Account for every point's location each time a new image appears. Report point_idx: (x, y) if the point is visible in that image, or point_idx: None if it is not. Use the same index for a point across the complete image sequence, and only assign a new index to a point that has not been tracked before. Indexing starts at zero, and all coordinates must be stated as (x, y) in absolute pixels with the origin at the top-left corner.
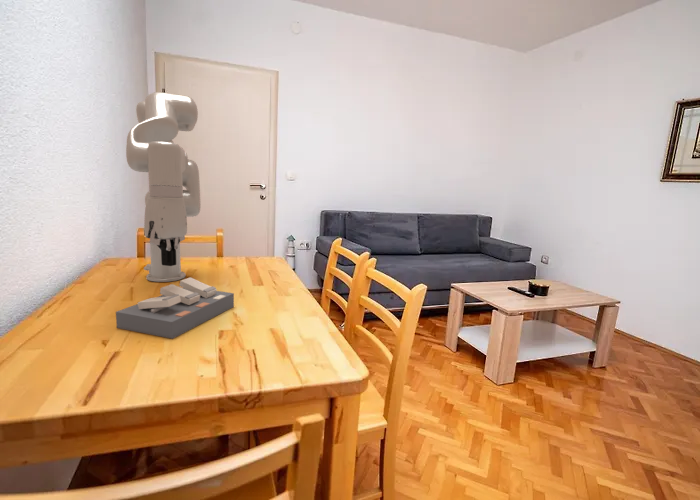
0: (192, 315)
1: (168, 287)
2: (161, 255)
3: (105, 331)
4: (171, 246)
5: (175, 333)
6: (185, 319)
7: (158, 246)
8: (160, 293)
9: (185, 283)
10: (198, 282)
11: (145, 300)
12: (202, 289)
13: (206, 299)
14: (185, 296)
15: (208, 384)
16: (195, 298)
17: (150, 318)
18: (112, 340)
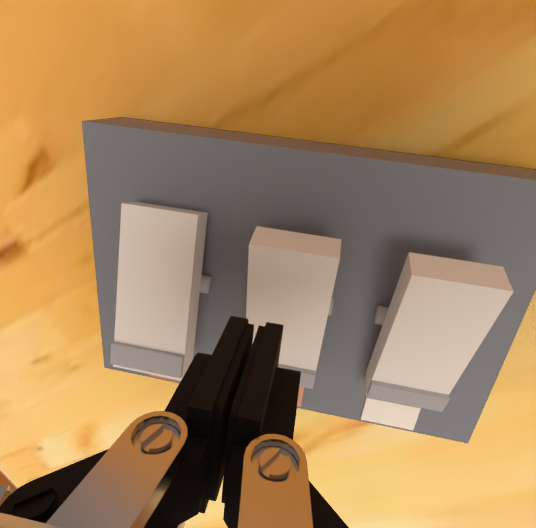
0: None
1: (283, 267)
2: (207, 364)
3: (89, 96)
4: (234, 524)
5: None
6: None
7: (74, 470)
8: (256, 229)
9: (400, 301)
10: (460, 342)
11: (150, 223)
12: (385, 375)
13: (351, 376)
14: None
15: (25, 464)
16: None
17: (98, 291)
18: (55, 179)
